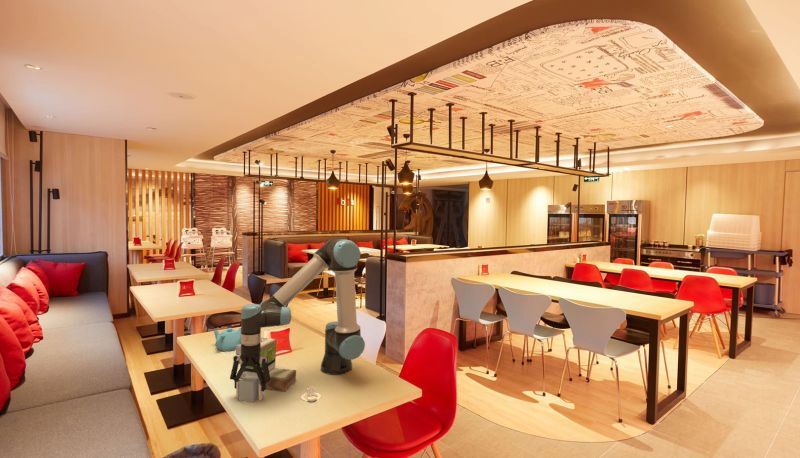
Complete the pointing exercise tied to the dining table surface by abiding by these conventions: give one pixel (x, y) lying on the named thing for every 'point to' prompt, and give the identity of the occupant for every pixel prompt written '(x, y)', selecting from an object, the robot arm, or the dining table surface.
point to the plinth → (281, 379)
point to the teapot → (228, 339)
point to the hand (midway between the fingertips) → (249, 397)
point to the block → (249, 388)
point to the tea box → (266, 351)
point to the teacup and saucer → (310, 394)
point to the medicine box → (238, 350)
